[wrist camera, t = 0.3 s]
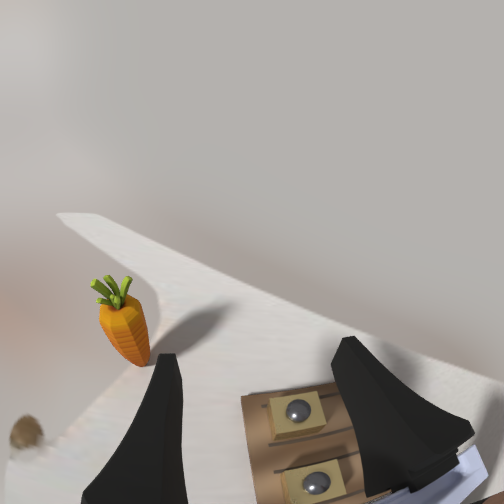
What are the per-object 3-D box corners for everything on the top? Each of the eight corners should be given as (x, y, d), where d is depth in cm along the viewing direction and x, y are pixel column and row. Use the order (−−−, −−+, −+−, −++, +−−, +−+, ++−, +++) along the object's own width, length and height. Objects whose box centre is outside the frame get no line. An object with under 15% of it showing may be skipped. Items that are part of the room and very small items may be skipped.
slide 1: (319, 432, 24) (328, 422, 22) (272, 441, 23) (277, 432, 21) (310, 401, 27) (318, 388, 25) (266, 408, 26) (270, 396, 24)
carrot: (165, 352, 33) (139, 262, 24) (156, 384, 29) (119, 299, 20) (131, 346, 33) (97, 258, 24) (120, 376, 29) (73, 291, 20)
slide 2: (336, 496, 17) (349, 493, 15) (286, 508, 17) (293, 508, 14) (327, 464, 20) (338, 457, 18) (279, 474, 20) (285, 470, 18)
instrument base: (416, 477, 18) (435, 470, 16) (261, 527, 15) (265, 530, 13) (377, 376, 31) (389, 360, 29) (241, 401, 28) (241, 387, 26)
